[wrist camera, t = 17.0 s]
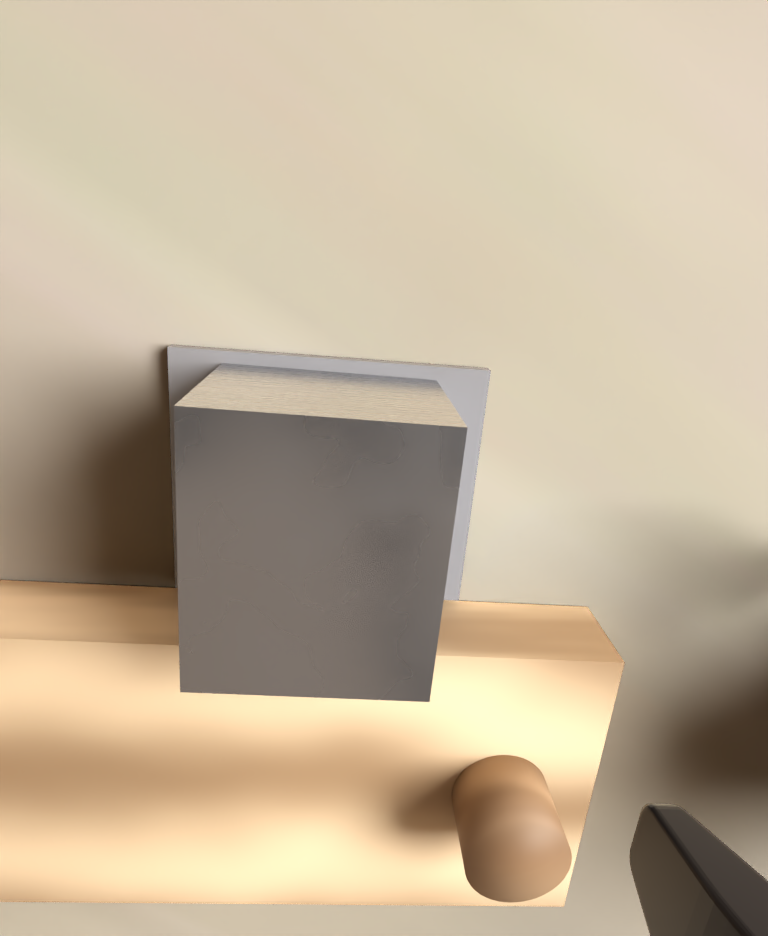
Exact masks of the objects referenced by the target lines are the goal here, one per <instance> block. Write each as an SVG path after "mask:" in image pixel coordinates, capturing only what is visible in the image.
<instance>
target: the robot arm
mask: <svg viewBox="0 0 768 936" xmlns="http://www.w3.org/2000/svg"><path fill="white" fill-rule="evenodd" d="M630 865H631V871H632V875H633V878H634V881H635V885H636V888H637V892H638V895H639V899H640V902H641V906H642V909H643V913H644V916H645V920H646V923H647V926H648V930H649V933H650V936H768V881H767V880H766V879H765V878H764V877H763V876H761V875H760V874H759V873H758V872H757V871H756V870H754V869H753V868H752V867H751V866H750V865H749V864H747V863H746V862H745V861H744V860H743V859H742V858H740V857H739V856H738V855H737V854H736V853H735V852H733V851H732V850H731V849H730V848H729V847H728V846H726V845H725V844H724V843H723V842H722V841H721V840H719V839H718V838H717V837H716V836H715V835H714V834H712V833H711V832H710V831H709V830H708V829H707V828H705V827H704V826H703V825H702V824H701V823H700V822H698V821H697V820H696V819H695V818H694V817H693V816H691V815H690V814H689V813H688V812H687V811H686V810H684V809H683V808H681V807H680V806H678V805H675V804H652V803H650V804H647V805H646V806H644V808H643V809H642V811H641V814H640V817H639V821H638V824H637V828H636V831H635V835H634V838H633V842H632V845H631V849H630Z"/></svg>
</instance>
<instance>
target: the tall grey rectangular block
mask: <svg viewBox="0 0 768 936" xmlns="http://www.w3.org/2000/svg"><path fill="white" fill-rule="evenodd" d="M467 429H468V427H467V426H466V424H465V423H464V421H463V420H462V418H461V417H460V415H459V414H458V412H457V411H456V409H455V407H454V406H453V404H452V403H451V401H450V400H449V398H448V397H447V395H446V394H445V392H444V391H443V389H442V388H441V386H440V385H439V383H438V382H437V380H429V379H417V378H404V377H392V376H379V375H367V374H354V373H342V372H329V371H317V370H304V369H292V368H279V367H267V366H254V365H242V364H229V363H222V364H221V365H220V366H218V367H217V368H216V369H215V370H214V371H213V372H212V373H210V374H209V375H208V376H207V377H206V378H205V379H204V380H202V381H201V382H200V383H199V384H198V385H197V386H196V387H195V388H193V389H192V390H191V391H190V392H189V393H188V394H187V395H185V396H184V397H183V398H182V399H181V400H180V401H179V402H177V403H176V404H175V405H174V439H175V485H176V531H177V577H178V623H179V668H180V692H187V693H212V694H237V695H263V696H288V697H313V698H338V699H364V700H389V701H414V702H430V695H431V688H432V680H433V673H434V666H435V659H436V652H437V644H438V637H439V630H440V623H441V616H442V608H443V601H444V594H445V587H446V580H447V573H448V565H449V558H450V551H451V544H452V537H453V529H454V522H455V515H456V508H457V501H458V493H459V486H460V479H461V472H462V465H463V457H464V450H465V443H466V436H467Z"/></svg>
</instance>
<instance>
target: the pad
mask: <svg viewBox="0 0 768 936" xmlns="http://www.w3.org/2000/svg"><path fill="white" fill-rule="evenodd" d="M167 351H168V382H169V413H170V444H171V475H172V506H173V537H174V568H175V588H178V577H177V531H176V485H175V439H174V405H175V404H176V403H177V402H179V401H180V400H181V399H182V398H183V397H184V396H185V395H187V394H188V393H189V392H190V391H191V390H192V389H193V388H195V387H196V386H197V385H198V384H199V383H200V382H201V381H202V380H204V379H205V378H206V377H207V376H208V375H209V374H210V373H212V372H213V371H214V370H215V369H216V368H217V367H218V366H220V365H221V364H222V363H229V364H242V365H254V366H267V367H279V368H292V369H304V370H317V371H329V372H342V373H354V374H367V375H379V376H392V377H404V378H417V379H429V380H437V382H438V383H439V385H440V386H441V388H442V389H443V391H444V392H445V394H446V395H447V397H448V398H449V400H450V401H451V403H452V404H453V406H454V407H455V409H456V411H457V412H458V414H459V415H460V417H461V418H462V420H463V421H464V423H465V424H466V426H467V427H468V429H467V436H466V443H465V450H464V457H463V465H462V472H461V479H460V486H459V493H458V501H457V508H456V515H455V522H454V529H453V537H452V544H451V551H450V558H449V565H448V573H447V580H446V587H445V594H444V600H456V601H459V594H460V587H461V580H462V573H463V566H464V558H465V551H466V544H467V537H468V530H469V523H470V515H471V508H472V501H473V494H474V487H475V480H476V472H477V465H478V458H479V451H480V444H481V437H482V429H483V422H484V415H485V408H486V401H487V394H488V386H489V379H490V372H491V371H490V370H489V369H488V368H478V367H465V366H451V365H438V364H424V363H411V362H397V361H384V360H370V359H357V358H343V357H330V356H317V355H303V354H290V353H276V352H263V351H249V350H236V349H222V348H209V347H195V346H182V345H170V346H168V347H167Z"/></svg>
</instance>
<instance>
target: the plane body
mask: <svg viewBox="0 0 768 936" xmlns="http://www.w3.org/2000/svg"><path fill="white" fill-rule="evenodd" d="M624 663H625V662H624V661H623V659H622V658H621V656H620V655H619V653H618V652H617V650H616V649H615V647H614V646H613V644H612V643H611V641H610V640H609V638H608V637H607V635H606V634H605V632H604V631H603V629H602V628H601V626H600V625H599V623H598V622H597V620H596V619H595V617H594V616H593V614H592V613H591V611H590V610H589V608H588V607H582V606H560V605H538V604H516V603H494V602H472V601H451V600H444V601H443V608H442V616H441V623H440V630H439V637H438V644H437V652H436V659H435V666H434V673H433V680H432V688H431V695H430V702H414V701H389V700H364V699H338V698H313V697H288V696H263V695H237V694H212V693H187V692H180V668H179V623H178V588H166V587H144V586H123V585H101V584H79V583H57V582H35V581H13V580H0V902H99V903H215V904H330V905H446V906H561V907H564V904H565V900H566V896H567V892H568V888H569V884H570V880H571V876H572V872H573V868H574V864H575V860H576V856H577V852H578V848H579V844H580V840H581V836H582V832H583V828H584V824H585V820H586V816H587V812H588V808H589V804H590V800H591V796H592V792H593V788H594V784H595V780H596V776H597V772H598V768H599V764H600V760H601V756H602V751H603V747H604V743H605V739H606V735H607V731H608V727H609V723H610V719H611V715H612V711H613V707H614V703H615V699H616V695H617V691H618V687H619V683H620V679H621V675H622V671H623V667H624Z"/></svg>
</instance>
